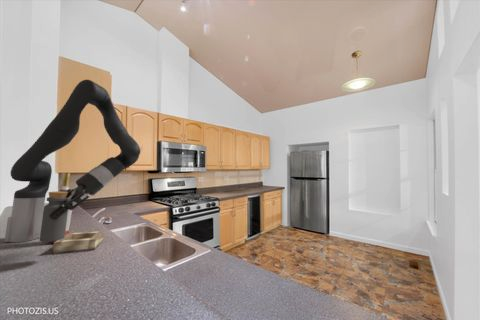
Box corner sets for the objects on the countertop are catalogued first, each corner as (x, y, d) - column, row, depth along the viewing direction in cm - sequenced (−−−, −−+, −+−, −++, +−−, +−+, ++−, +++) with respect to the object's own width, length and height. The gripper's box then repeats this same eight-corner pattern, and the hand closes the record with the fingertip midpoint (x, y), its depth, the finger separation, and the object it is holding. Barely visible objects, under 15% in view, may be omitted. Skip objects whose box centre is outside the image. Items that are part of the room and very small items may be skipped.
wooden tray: (52, 253, 67) (54, 242, 67) (67, 243, 78) (68, 233, 78) (94, 249, 72) (95, 239, 72) (102, 240, 83) (103, 231, 83)
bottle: (68, 237, 64) (74, 192, 66) (46, 243, 59) (53, 193, 60) (57, 235, 66) (63, 190, 67) (34, 240, 61) (41, 191, 62)
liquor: (48, 246, 74) (57, 172, 77) (43, 242, 78) (52, 172, 81) (72, 241, 80) (80, 173, 83) (66, 238, 84) (74, 173, 87)
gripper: (80, 171, 75) (31, 206, 63) (96, 172, 67) (44, 212, 56) (95, 185, 78) (51, 220, 67) (112, 188, 71) (65, 227, 60)
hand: (48, 216), depth 62 cm, fingers closed on bottle, 6 cm apart
